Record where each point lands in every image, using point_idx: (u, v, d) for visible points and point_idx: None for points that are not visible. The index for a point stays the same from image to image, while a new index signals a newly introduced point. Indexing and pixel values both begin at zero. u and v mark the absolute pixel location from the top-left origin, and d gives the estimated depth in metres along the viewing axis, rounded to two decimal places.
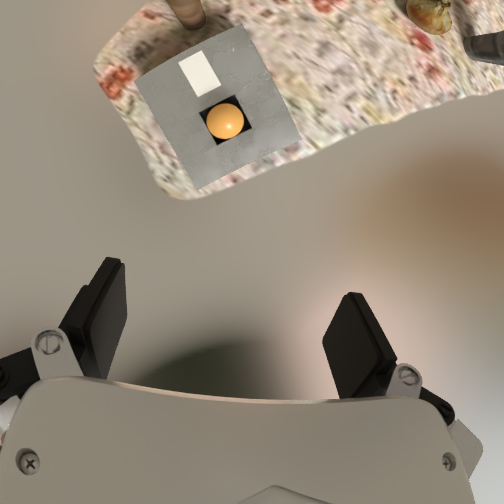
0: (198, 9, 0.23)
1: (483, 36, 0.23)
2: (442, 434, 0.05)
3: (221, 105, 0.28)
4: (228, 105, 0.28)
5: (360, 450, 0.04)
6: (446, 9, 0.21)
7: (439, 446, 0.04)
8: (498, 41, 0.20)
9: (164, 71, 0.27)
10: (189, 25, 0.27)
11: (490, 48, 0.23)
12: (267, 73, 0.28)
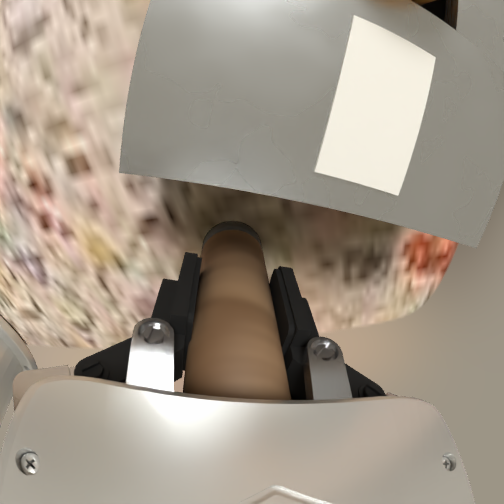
0: (214, 318, 0.09)
1: None
2: (442, 434, 0.05)
3: None
4: None
5: (360, 450, 0.04)
6: None
7: (439, 446, 0.04)
8: None
9: (434, 205, 0.09)
10: (257, 255, 0.13)
11: None
12: None
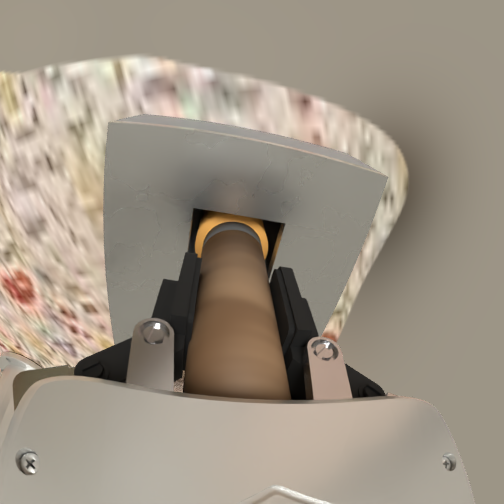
0: (214, 318, 0.09)
1: None
2: (442, 434, 0.05)
3: None
4: None
5: (360, 450, 0.04)
6: None
7: (439, 446, 0.04)
8: None
9: None
10: (257, 255, 0.13)
11: None
12: (109, 281, 0.15)
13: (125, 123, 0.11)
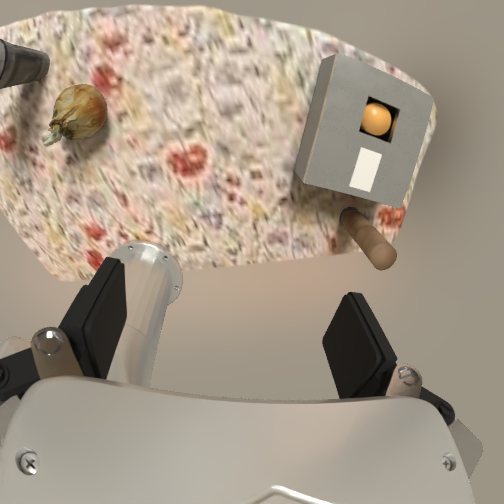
0: (367, 228, 0.34)
1: (20, 81, 0.22)
2: (442, 434, 0.05)
3: (370, 131, 0.30)
4: (366, 127, 0.30)
5: (360, 450, 0.04)
6: (60, 116, 0.24)
7: (439, 446, 0.04)
8: (8, 75, 0.18)
9: (381, 194, 0.33)
10: (364, 217, 0.38)
11: (22, 65, 0.20)
12: (322, 125, 0.29)
13: (345, 56, 0.25)
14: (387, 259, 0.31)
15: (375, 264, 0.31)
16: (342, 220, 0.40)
